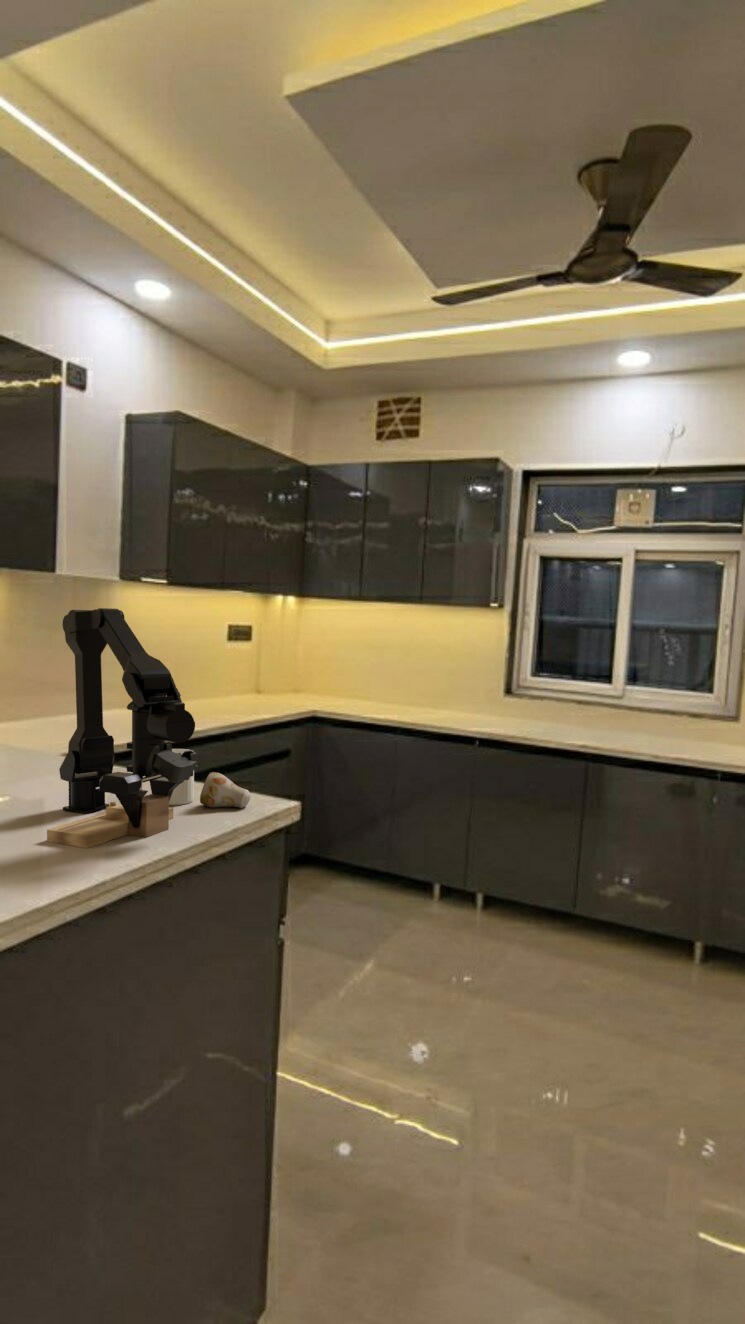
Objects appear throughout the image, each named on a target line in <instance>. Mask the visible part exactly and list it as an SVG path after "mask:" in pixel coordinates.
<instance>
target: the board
mask: <svg viewBox="0 0 745 1324" xmlns="http://www.w3.org/2000/svg"><path fill="white" fill-rule="evenodd" d="M171 819H172V820H173V819H174V807H170V806H169V821H170V820H171ZM126 835H128V820H126V819H119V818H112V817H106V811H104V812H101V813H98V814H95V815H90V816H89V817H84V818H81V819H77V820H75V821H71V822H67V823H65V824H62V825H57V826H54V827H51V828H48V829H46V842H50V843H54V844H55V843H56V844H62V845H66V846H67V845H68V846H73V847H78V848H83V849H89V848H92V847H95V846H98V845H100V844H103V843H106V842H109V841H112V840H115V839H117V838H120V837H124V836H126Z"/></svg>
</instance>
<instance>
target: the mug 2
mask: <svg viewBox="0 0 745 1324" xmlns="http://www.w3.org/2000/svg"><path fill="white" fill-rule="evenodd" d="M188 750H189V749H188V748H187V749H186V748H172V752H175V753H181V755H182V754H183V753H184V752H185V751H188ZM191 750H192V751H194V750H193V749H191ZM194 794H195V770H193V776H191V777H190V778H189V780H184V782H183V783H181V784H179V785H178V786H177V787H176V788H175V789H174V790H173V793H172V795H171V798H170V801H169V806H182V805H186V804H190V803H193V801H194V800H195V798H194V797H195V795H194Z"/></svg>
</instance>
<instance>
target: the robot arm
mask: <svg viewBox="0 0 745 1324" xmlns="http://www.w3.org/2000/svg"><path fill="white" fill-rule="evenodd" d="M62 630H63V632H64V639H65V642H66V644H67V646H68V647H69V649H70V650H71V652H72V653H73V655H74V672H75V676H74V677H75V698H76V699H75V703H76V704H75V705H76V706H75V707H76V711H75V712H76V729H75V730H74V732H73V734H72V736H71V737H70V739H69V741H68V747H67V748H68V750H67V753H66V756H65V757H64V759H63V761H62V763H61V765H60V767H59V770H58V771H59V777H60V780H61V781H65V782H68V805H67V806H62V810H63V811H68V812H76V813H82V814H90V813H92V812H96V811H98V810H102V809H106V807H107V806H110V803H106V793H107V794H108V793H110V794H113V795H115V797H116V798H117V800H118V802H119V803H120V805H122V806H123V808H124V810H125V812H126V814H127V816H128V818H129V820H130V822H131V824H132V826H133V827H134V828H139V827H140V821H141V807H142V798H143V797H144V796H146V795H147V793H149V792H148V791H149V790H144V789H143V783H146V782H149V785H150V791H151V794H154V795H162V796H169V801H170V798H171V795H172V793H173V790H174V789H175V788H176V787H177V786H178V785H179V784H181V783H183V782H184V780H189V778H190V777H191V776H193V770H194V771H196V770H197V769H198V756H197V755H198V753H197V752H195V751H194V750H193V749H188V751H185V752H184V753H183V754H182V755H181V753H175V752H172V749H173V748H172V747H173V746H172V744H171V743H173V744H174V743H175V744H182V743H186V742H188V740H190V739H191V738H192V736H193V735H194V732H195V730H196V721H195V720H194V717H193V715H192V713H190V712H189V711H188V710H186V707H185V706H186V703H185V702H183V701H182V698H181V696H182V695H181V693H180V691H179V688H177V685H176V683H175V680H174V678H173V676H172V673H171V671H170V670H169V668H167V667H166V665H165V664H164V662H162V661H161V660H160V659H158V658H156V657H153V656H152V655H150V654H149V653H147V651H146V650H145V649H144V647H143V646H142V643H140V641H139V639H138V637H137V636H136V635H135V634H134V632H133V630H132V629H131V627H130V626H129V624H128V623H127V621H126V619H125V614H124V612H123V611H122V610H120V609H118V608H109V607H105V608H104V607H103V608H101V607H99V608H97V609H71V610H69V611H68V612H67V614H66V615H64V616H63V619H62ZM107 646H108V647H109V648H110V650H111V652H112V653H113V654H114V656H115V659H116V660H117V661H118V663H119V664H120V666H121V668H122V670H123V673H122V678H121V681H122V684H123V687H124V690H125V692H127V693H126V694H128V696H129V698H130V699H131V700H132V701H130V702H129V703H128V704H127V705H126V709H127V710H129V711H131V741H130V742H127V743H126V749H128V750H131V764H130V765H127V766H126V772H122V771H116V772H115V771H114V772H113V770H114V765H115V759H116V754H115V748H114V747H115V745H114V743H115V740H114V737H113V735H109V734H108V732H107V730H106V728H104V715H103V714H104V713H103V712H104V711H103V709H104V708H103V705H104V704H103V679H102V677H103V676H102V675H103V674H102V654H103V652H104V650H105V649H106V647H107ZM192 750H193V751H192Z"/></svg>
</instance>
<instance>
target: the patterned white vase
mask: <svg viewBox="0 0 745 1324" xmlns="http://www.w3.org/2000/svg"><path fill="white" fill-rule="evenodd" d="M250 800H251V793H250V792H249V790H248V789H246V788H242V787H241V786H238V785H237V784H235V783H234V782H233V781H232V780H231V779H229V778H228V777H227V776H225V775H224V774H222V773H220V772H215V771H212V772H209V774H208V775H207V777H206V779H205V781H204V783H203V787H202V789H201V792H200V797H199V803H200V804H201V805H203V806H205V807H209V808H223V807H235V808H238V807H239V808H238V809H243V808H242V807H244V808H246V807H247V806H248V805H249V802H250Z"/></svg>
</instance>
